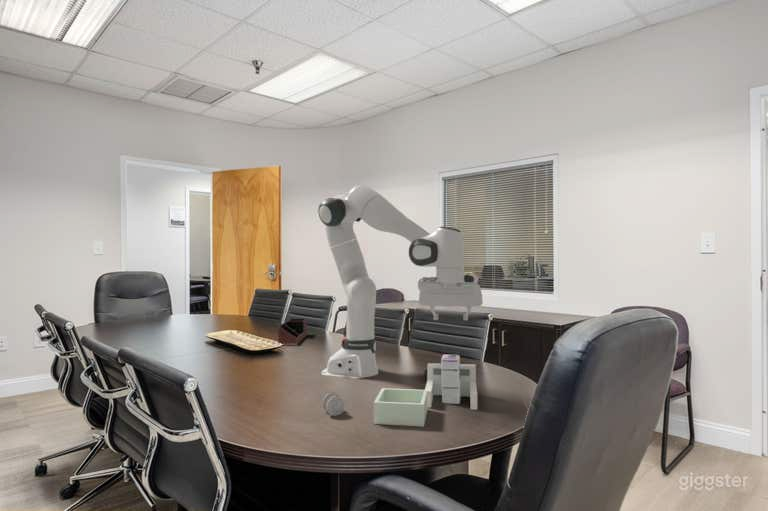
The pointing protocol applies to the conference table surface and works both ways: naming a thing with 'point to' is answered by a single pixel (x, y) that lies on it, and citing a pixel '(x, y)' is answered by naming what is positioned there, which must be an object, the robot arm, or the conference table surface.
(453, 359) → the syrup box
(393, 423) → the tray
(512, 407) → the conference table surface
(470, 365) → the bay
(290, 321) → the desk organizer
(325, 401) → the twin embossed discs
